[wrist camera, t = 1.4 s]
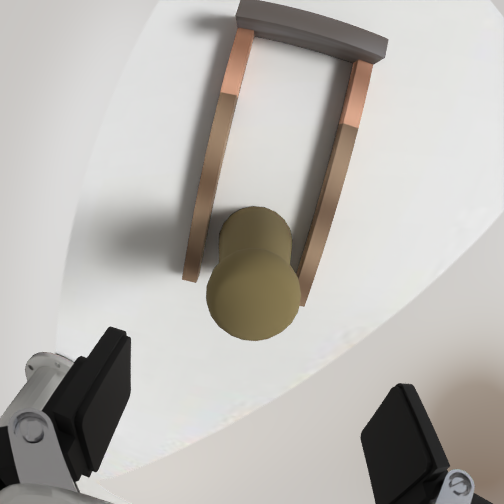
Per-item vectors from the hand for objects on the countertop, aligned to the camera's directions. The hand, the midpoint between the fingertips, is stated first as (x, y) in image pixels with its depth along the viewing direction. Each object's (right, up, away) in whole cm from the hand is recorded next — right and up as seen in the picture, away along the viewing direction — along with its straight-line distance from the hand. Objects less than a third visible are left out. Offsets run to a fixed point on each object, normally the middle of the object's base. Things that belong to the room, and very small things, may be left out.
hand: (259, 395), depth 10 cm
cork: (0, +6, +17) cm, 18 cm away
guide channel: (+2, +12, +14) cm, 18 cm away
